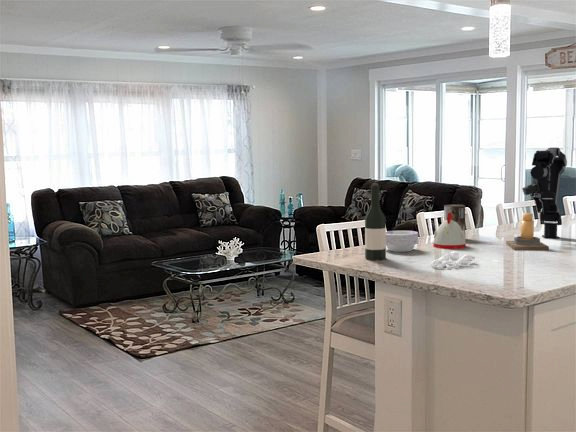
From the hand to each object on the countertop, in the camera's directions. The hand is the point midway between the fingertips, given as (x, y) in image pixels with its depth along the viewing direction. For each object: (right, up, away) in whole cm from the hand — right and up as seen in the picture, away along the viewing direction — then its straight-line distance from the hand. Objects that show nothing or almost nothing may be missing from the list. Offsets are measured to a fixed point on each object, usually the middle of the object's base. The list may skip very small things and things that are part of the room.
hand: (541, 213), depth 301 cm
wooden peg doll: (-10, -13, -11) cm, 20 cm away
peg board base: (-10, -15, -11) cm, 21 cm away
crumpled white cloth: (-51, -20, -49) cm, 73 cm away
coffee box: (-35, -12, +16) cm, 40 cm away
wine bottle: (-79, -18, -32) cm, 87 cm away
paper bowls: (-65, -16, -13) cm, 69 cm away
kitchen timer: (-42, -15, -5) cm, 45 cm away
